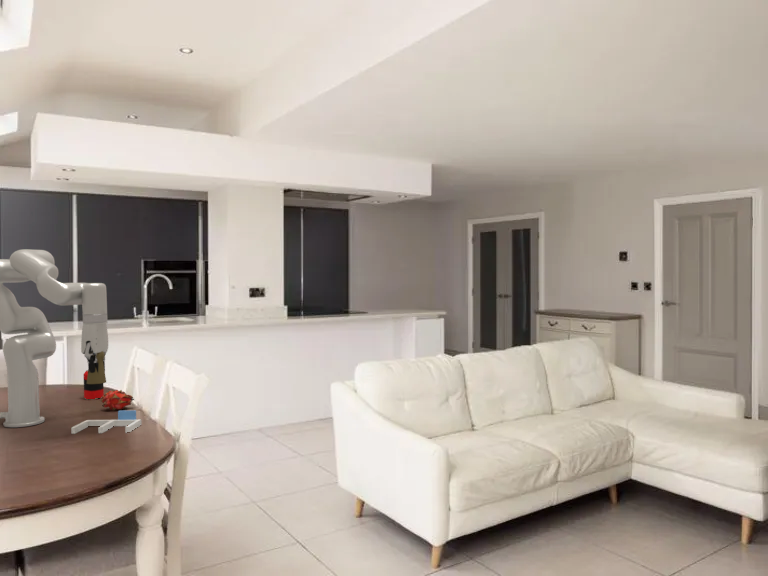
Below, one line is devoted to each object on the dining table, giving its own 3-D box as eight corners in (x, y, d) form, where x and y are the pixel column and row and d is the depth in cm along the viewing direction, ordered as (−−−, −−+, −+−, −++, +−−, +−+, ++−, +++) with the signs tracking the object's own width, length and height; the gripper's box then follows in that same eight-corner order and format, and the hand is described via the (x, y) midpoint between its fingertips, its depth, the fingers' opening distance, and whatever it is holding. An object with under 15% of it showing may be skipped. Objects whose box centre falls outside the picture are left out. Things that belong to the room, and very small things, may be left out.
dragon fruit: (98, 414, 235) (131, 416, 239) (98, 405, 228) (132, 407, 232) (102, 394, 239) (134, 396, 244) (102, 385, 233) (135, 387, 237)
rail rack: (71, 433, 201) (71, 418, 201) (87, 425, 212) (87, 411, 212) (129, 432, 201) (128, 417, 200) (142, 424, 212) (142, 410, 211)
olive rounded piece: (98, 384, 200) (97, 350, 200) (82, 384, 201) (81, 351, 202) (110, 381, 206) (109, 349, 206) (94, 381, 207) (94, 349, 208)
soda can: (85, 400, 253) (84, 372, 253) (83, 397, 259) (82, 370, 259) (105, 398, 257) (104, 370, 257) (102, 395, 264) (101, 368, 263)
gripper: (96, 318, 212) (97, 370, 213) (71, 321, 196) (72, 378, 196) (117, 317, 212) (118, 369, 212) (94, 321, 195) (95, 377, 196)
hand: (96, 373), depth 204 cm, fingers closed on olive rounded piece, 3 cm apart
